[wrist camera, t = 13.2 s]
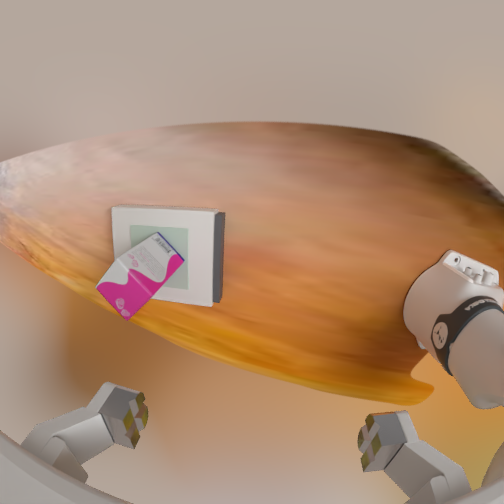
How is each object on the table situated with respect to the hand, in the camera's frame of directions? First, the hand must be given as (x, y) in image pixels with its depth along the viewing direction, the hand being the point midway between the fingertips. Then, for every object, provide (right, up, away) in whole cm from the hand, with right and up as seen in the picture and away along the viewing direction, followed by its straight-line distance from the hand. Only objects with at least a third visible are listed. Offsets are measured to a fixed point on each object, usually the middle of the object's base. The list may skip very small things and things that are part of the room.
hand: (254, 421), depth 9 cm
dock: (-13, +6, +34) cm, 37 cm away
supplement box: (-13, +5, +31) cm, 34 cm away
